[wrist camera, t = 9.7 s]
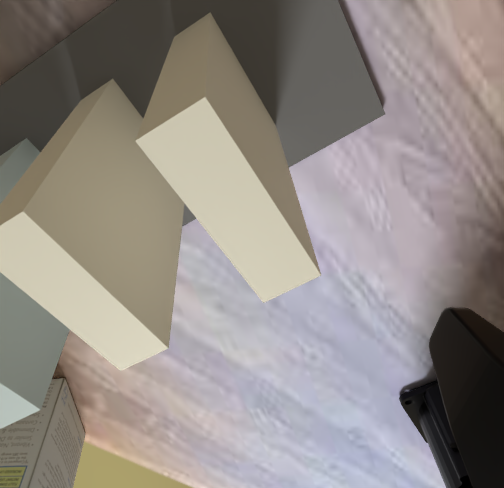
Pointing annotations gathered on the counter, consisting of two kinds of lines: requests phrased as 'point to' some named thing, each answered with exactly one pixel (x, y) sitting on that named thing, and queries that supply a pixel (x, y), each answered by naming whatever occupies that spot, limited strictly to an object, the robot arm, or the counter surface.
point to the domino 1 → (24, 322)
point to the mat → (243, 46)
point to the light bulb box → (43, 444)
